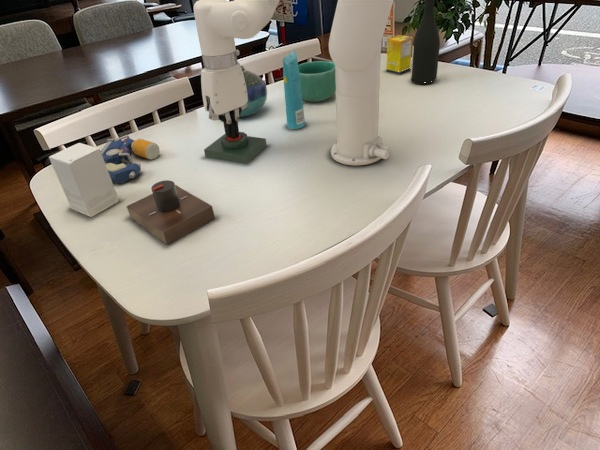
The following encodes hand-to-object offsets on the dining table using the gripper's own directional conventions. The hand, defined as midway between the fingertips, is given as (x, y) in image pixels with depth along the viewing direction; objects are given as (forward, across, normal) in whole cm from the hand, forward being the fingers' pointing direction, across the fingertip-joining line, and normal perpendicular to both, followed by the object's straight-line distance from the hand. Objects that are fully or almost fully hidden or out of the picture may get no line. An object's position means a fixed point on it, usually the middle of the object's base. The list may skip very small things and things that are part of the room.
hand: (232, 136), depth 111 cm
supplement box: (+4, -74, -3) cm, 74 cm away
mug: (+4, -41, -9) cm, 42 cm away
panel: (+4, +27, +13) cm, 30 cm away
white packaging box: (+5, +35, -5) cm, 35 cm away
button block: (+4, 0, 0) cm, 4 cm away
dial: (+1, +27, +13) cm, 30 cm away
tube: (+4, -20, +1) cm, 21 cm away
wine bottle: (+4, -69, +10) cm, 70 cm away
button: (+2, 0, 0) cm, 2 cm away
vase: (+4, -18, -19) cm, 27 cm away
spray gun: (+5, +21, -17) cm, 27 cm away
